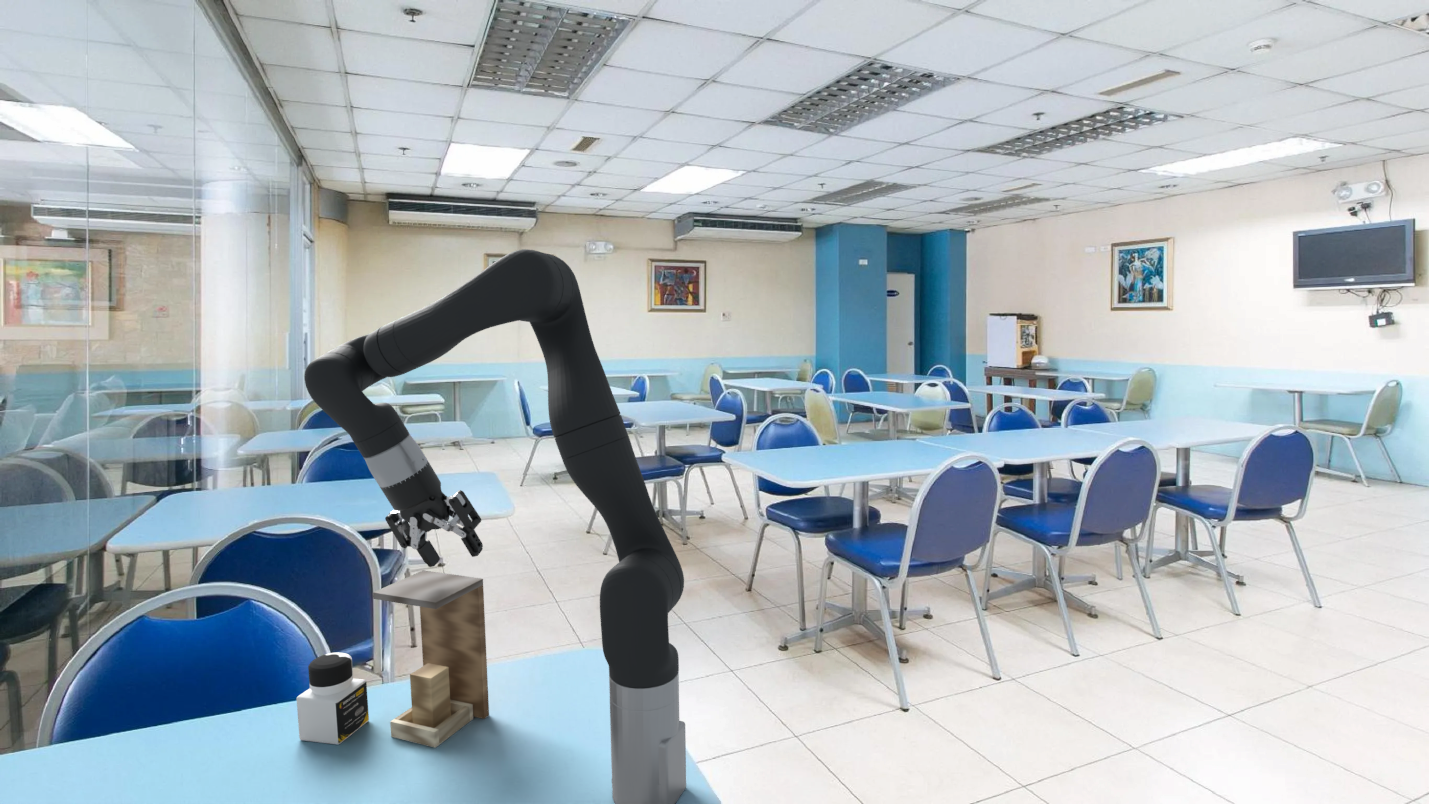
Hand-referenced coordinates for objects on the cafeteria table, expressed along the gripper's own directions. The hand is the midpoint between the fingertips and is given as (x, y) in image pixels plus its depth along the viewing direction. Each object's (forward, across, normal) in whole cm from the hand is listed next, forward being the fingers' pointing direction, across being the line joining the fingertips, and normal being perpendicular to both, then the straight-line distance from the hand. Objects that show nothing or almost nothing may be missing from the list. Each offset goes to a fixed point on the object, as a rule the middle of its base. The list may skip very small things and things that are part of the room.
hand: (456, 558), depth 115 cm
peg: (+23, +12, +11) cm, 28 cm away
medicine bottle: (+17, +25, +15) cm, 34 cm away
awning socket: (+23, +12, +11) cm, 28 cm away
